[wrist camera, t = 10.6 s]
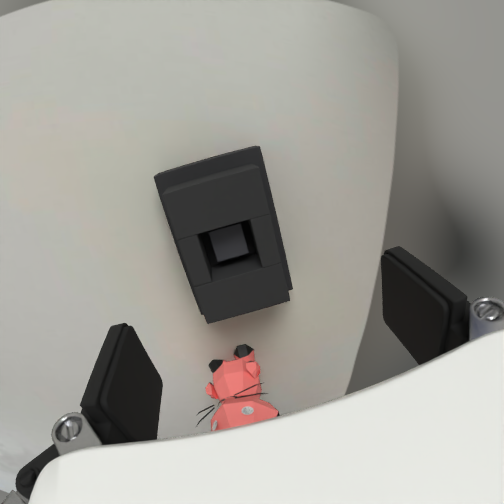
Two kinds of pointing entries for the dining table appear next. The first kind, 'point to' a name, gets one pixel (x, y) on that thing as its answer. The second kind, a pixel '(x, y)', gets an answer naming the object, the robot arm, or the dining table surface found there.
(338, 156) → the dining table surface
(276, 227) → the base pad
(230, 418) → the cat figurine
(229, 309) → the black socket block
